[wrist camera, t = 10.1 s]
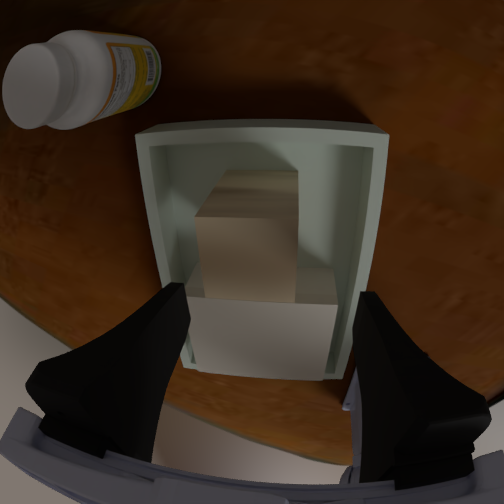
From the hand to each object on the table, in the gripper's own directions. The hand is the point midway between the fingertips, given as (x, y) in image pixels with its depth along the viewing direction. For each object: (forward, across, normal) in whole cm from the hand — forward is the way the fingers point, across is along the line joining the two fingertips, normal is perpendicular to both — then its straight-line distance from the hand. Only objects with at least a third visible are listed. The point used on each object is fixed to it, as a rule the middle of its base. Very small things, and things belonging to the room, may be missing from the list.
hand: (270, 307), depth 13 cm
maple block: (+9, +1, -1) cm, 9 cm away
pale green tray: (+10, +1, +4) cm, 11 cm away
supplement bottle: (+10, +10, -10) cm, 18 cm away
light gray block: (+9, +1, +8) cm, 12 cm away
